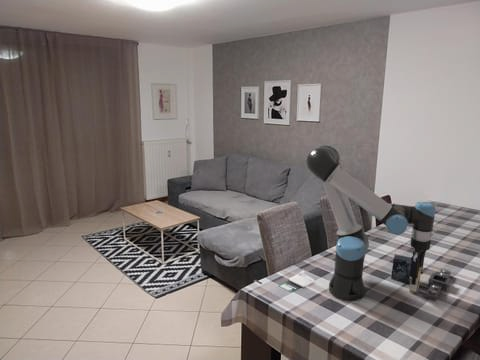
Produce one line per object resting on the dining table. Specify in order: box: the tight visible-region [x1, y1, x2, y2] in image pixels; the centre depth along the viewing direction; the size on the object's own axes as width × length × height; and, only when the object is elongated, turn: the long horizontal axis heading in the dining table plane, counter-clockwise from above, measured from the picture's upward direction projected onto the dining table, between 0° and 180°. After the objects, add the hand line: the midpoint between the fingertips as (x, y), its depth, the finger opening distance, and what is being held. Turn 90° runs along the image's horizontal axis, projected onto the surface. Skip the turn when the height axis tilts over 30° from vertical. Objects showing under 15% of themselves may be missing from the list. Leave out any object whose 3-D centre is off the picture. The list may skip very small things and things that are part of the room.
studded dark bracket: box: [424, 268, 452, 302], centre depth 157 cm, size 29×7×4 cm, turn 139°
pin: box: [409, 266, 423, 295], centre depth 151 cm, size 4×4×12 cm
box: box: [390, 253, 412, 284], centre depth 163 cm, size 8×6×11 cm
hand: (414, 288), depth 152 cm, fingers closed on pin, 3 cm apart
